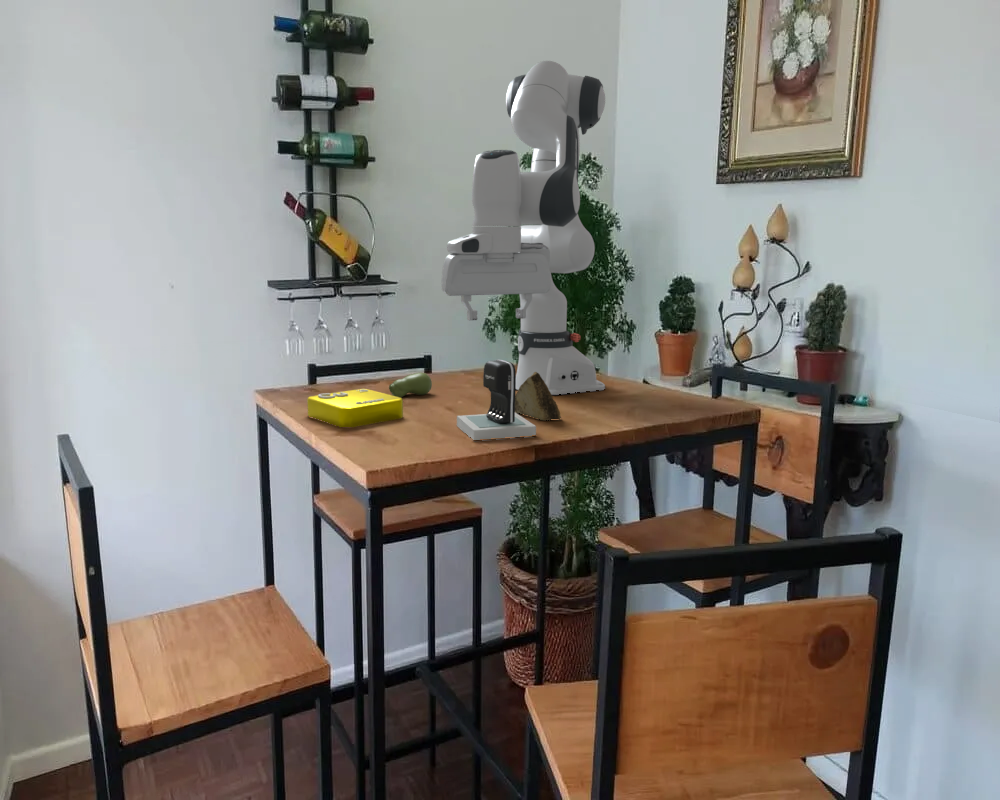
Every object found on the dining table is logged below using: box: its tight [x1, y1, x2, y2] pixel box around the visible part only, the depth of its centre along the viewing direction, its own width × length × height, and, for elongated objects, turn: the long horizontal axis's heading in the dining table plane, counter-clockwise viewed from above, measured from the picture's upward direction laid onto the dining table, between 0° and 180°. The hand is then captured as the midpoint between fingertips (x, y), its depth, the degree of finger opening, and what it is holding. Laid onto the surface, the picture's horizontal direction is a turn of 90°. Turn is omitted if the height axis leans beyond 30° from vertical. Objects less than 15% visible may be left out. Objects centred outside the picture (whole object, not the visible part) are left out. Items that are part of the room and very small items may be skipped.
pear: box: [388, 372, 433, 398], centre depth 181 cm, size 6×5×10 cm
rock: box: [515, 372, 562, 421], centre depth 161 cm, size 11×9×10 cm
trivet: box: [456, 412, 537, 441], centre depth 148 cm, size 12×12×2 cm
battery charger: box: [482, 359, 517, 423], centre depth 146 cm, size 7×4×11 cm, turn 29°
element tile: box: [306, 388, 404, 428], centre depth 159 cm, size 15×15×5 cm
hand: (496, 319), depth 144 cm, fingers open, 8 cm apart
